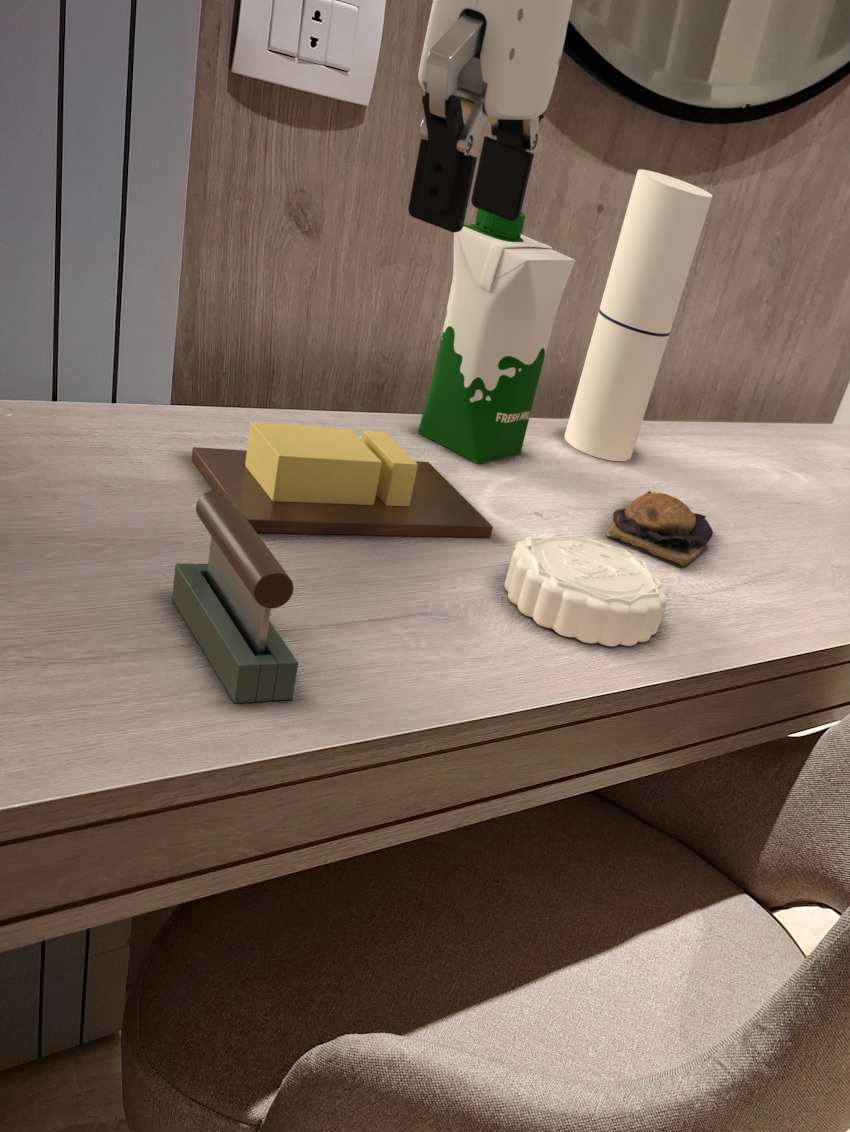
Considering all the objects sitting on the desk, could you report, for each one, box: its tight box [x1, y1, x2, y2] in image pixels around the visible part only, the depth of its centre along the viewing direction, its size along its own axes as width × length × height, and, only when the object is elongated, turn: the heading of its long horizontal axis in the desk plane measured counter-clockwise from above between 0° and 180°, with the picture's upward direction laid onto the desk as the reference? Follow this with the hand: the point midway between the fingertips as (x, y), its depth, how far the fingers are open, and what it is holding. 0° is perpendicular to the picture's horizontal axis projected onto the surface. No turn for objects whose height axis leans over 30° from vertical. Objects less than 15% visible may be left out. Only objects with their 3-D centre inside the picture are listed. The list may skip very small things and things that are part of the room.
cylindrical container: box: [563, 169, 713, 462], centre depth 114 cm, size 7×7×25 cm
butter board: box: [191, 446, 494, 538], centre depth 92 cm, size 20×12×1 cm, turn 123°
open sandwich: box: [606, 490, 714, 567], centre depth 105 cm, size 11×8×4 cm
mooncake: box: [504, 531, 669, 647], centre depth 88 cm, size 12×12×4 cm
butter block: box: [245, 421, 382, 505], centre depth 89 cm, size 8×6×4 cm
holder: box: [171, 562, 299, 704], centre depth 70 cm, size 3×12×2 cm, turn 33°
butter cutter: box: [195, 489, 295, 656], centre depth 68 cm, size 2×10×8 cm, turn 33°
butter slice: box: [360, 430, 418, 506], centre depth 92 cm, size 2×6×4 cm, turn 33°
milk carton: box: [417, 208, 576, 465], centre depth 105 cm, size 9×9×20 cm
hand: (466, 218), depth 72 cm, fingers open, 9 cm apart
